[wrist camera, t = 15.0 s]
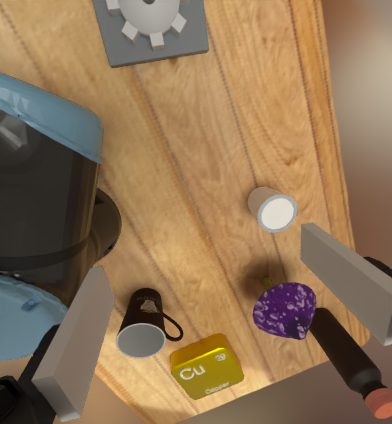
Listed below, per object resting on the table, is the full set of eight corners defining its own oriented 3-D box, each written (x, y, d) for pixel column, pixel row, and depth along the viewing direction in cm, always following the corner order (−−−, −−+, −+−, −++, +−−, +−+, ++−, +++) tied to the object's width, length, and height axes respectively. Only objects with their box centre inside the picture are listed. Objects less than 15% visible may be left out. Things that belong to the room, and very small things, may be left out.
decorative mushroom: (298, 286, 52) (344, 345, 39) (249, 308, 53) (278, 373, 39) (283, 245, 48) (330, 296, 34) (230, 270, 48) (255, 330, 35)
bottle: (314, 304, 55) (388, 395, 37) (335, 311, 57) (414, 401, 39) (299, 323, 57) (361, 419, 39) (319, 329, 59) (388, 424, 41)
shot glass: (256, 176, 41) (273, 187, 35) (285, 192, 43) (306, 205, 37) (237, 208, 43) (249, 223, 37) (265, 222, 45) (282, 238, 39)
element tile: (191, 384, 62) (193, 404, 58) (167, 352, 56) (167, 372, 52) (241, 363, 61) (247, 382, 57) (222, 329, 56) (226, 347, 51)
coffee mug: (117, 301, 48) (105, 344, 39) (144, 276, 46) (139, 315, 37) (157, 326, 52) (155, 371, 43) (183, 304, 51) (187, 345, 41)
